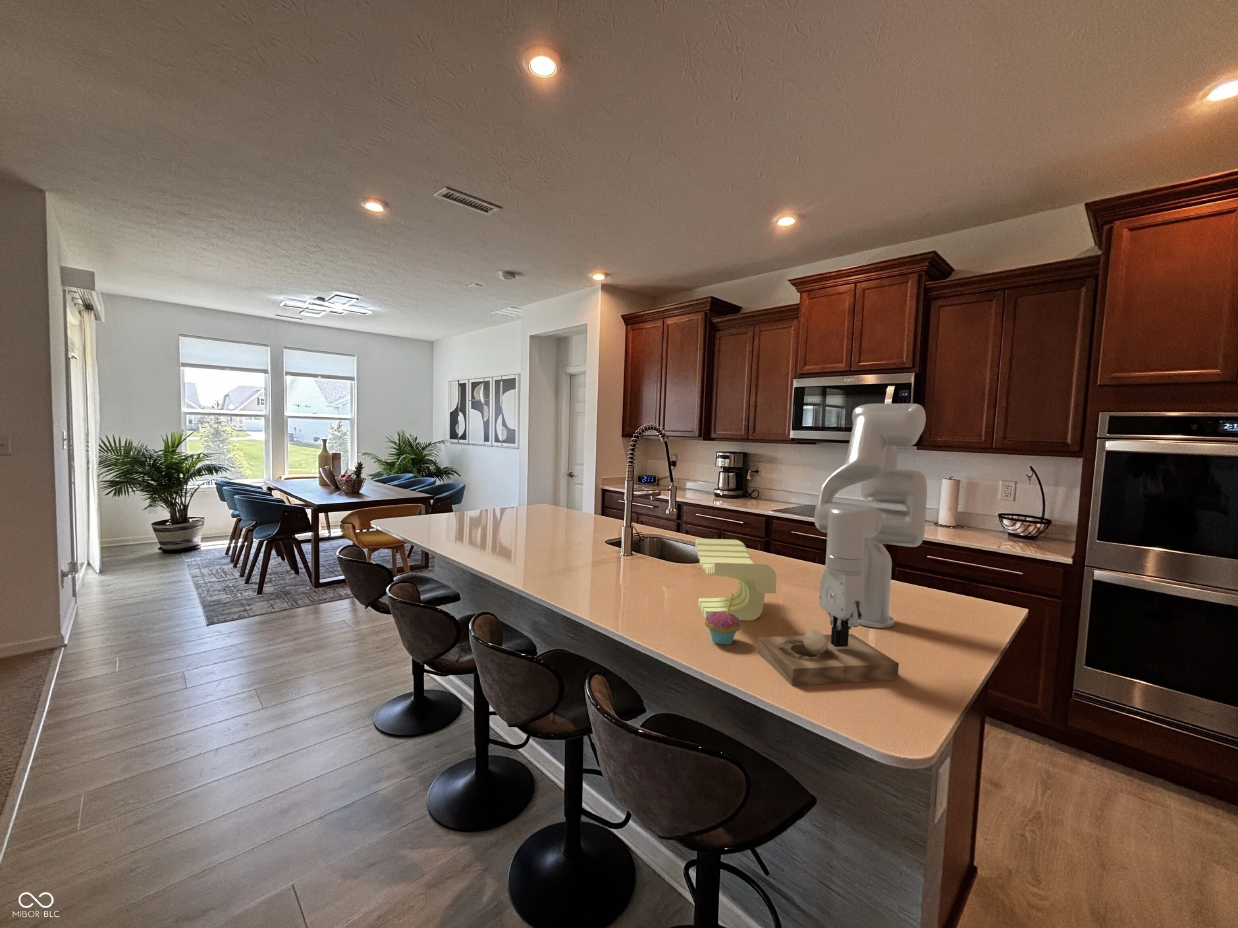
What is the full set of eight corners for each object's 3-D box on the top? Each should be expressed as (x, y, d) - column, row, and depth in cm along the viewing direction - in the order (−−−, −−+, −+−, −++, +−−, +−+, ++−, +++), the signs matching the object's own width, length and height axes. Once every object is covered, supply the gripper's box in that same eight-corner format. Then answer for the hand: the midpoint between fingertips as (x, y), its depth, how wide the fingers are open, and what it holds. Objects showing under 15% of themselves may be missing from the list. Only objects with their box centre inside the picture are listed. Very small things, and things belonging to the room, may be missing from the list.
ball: (808, 622, 115) (820, 637, 116) (794, 639, 114) (807, 654, 115) (823, 628, 110) (836, 644, 111) (809, 646, 109) (822, 662, 110)
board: (850, 647, 124) (851, 633, 124) (897, 679, 108) (898, 663, 108) (757, 651, 120) (758, 637, 119) (792, 685, 104) (792, 668, 104)
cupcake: (734, 634, 130) (737, 587, 129) (744, 648, 121) (746, 598, 121) (701, 633, 130) (703, 587, 129) (708, 647, 121) (710, 598, 120)
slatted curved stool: (773, 632, 132) (777, 564, 131) (711, 630, 132) (714, 562, 131) (743, 595, 162) (746, 539, 161) (693, 594, 162) (695, 538, 161)
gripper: (810, 555, 120) (805, 632, 121) (849, 573, 105) (844, 660, 106) (839, 555, 121) (834, 631, 122) (882, 572, 106) (876, 659, 107)
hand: (839, 645), depth 114 cm, fingers closed
